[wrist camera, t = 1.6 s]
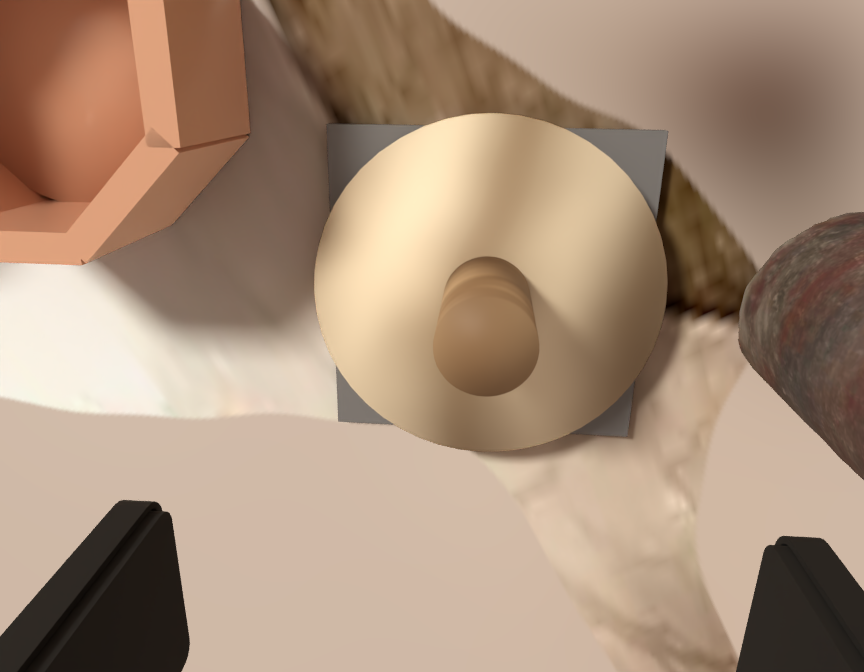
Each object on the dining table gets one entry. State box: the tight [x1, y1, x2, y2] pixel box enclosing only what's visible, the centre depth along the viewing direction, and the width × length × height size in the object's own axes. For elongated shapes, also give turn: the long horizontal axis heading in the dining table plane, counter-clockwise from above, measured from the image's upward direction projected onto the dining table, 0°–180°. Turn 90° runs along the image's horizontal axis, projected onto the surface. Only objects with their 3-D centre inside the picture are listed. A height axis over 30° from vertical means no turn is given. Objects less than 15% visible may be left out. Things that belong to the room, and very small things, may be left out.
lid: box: [314, 113, 668, 452], centre depth 23 cm, size 13×13×6 cm
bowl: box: [0, 0, 250, 265], centre depth 22 cm, size 12×12×6 cm
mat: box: [327, 123, 668, 437], centre depth 26 cm, size 12×12×1 cm
